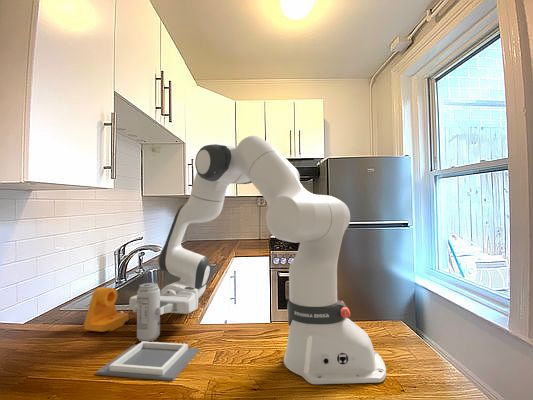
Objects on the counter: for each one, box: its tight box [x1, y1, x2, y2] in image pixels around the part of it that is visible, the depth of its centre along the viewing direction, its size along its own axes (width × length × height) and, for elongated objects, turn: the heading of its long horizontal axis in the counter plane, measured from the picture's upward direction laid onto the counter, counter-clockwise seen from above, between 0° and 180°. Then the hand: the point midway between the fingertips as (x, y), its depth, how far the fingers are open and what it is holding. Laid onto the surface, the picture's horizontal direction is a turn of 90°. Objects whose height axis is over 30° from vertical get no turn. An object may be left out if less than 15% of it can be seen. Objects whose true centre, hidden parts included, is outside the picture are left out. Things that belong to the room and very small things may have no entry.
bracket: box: [83, 286, 130, 332], centre depth 95 cm, size 11×7×12 cm, turn 164°
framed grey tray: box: [95, 341, 200, 382], centre depth 71 cm, size 18×14×2 cm
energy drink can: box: [136, 282, 161, 343], centre depth 85 cm, size 6×6×15 cm
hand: (146, 310), depth 84 cm, fingers closed on energy drink can, 6 cm apart
